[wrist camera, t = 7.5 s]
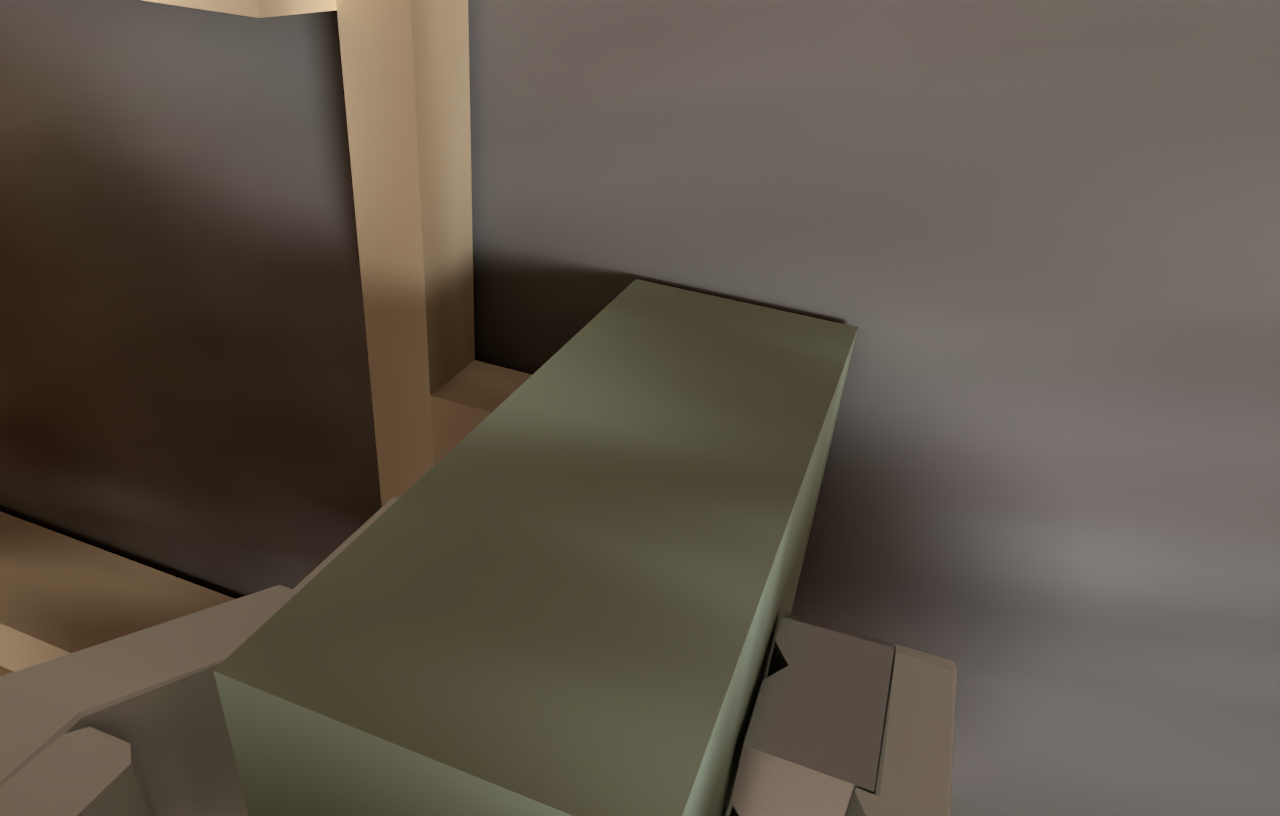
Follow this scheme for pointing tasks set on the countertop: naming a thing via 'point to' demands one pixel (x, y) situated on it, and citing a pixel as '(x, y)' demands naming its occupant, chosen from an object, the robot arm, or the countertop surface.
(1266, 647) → the countertop surface
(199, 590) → the frame
